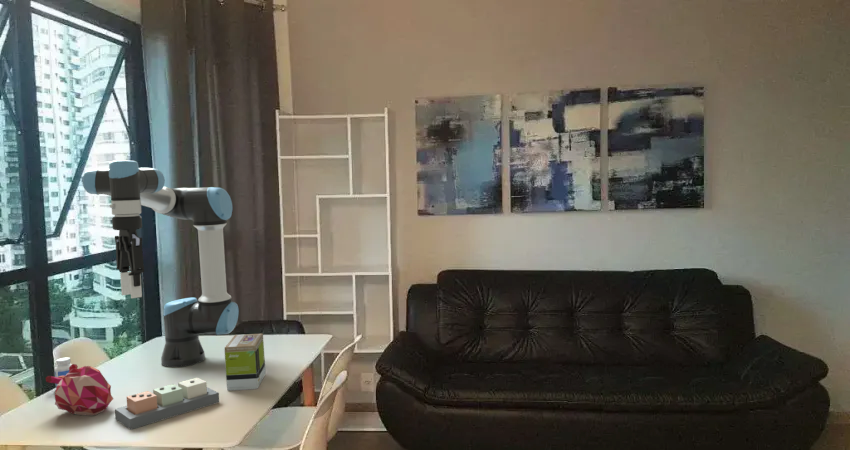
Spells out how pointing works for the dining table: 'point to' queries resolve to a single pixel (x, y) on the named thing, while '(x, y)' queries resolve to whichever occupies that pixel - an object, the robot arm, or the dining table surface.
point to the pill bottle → (62, 367)
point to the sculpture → (82, 391)
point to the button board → (165, 410)
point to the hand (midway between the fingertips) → (131, 295)
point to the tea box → (245, 362)
